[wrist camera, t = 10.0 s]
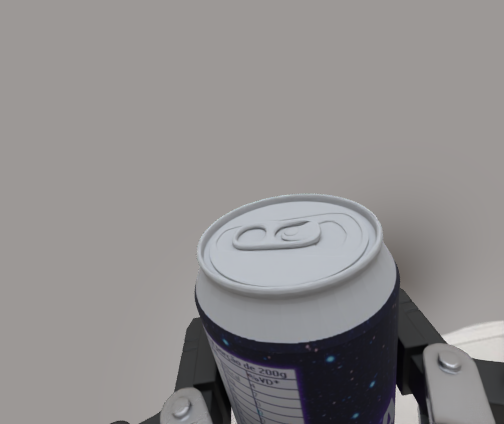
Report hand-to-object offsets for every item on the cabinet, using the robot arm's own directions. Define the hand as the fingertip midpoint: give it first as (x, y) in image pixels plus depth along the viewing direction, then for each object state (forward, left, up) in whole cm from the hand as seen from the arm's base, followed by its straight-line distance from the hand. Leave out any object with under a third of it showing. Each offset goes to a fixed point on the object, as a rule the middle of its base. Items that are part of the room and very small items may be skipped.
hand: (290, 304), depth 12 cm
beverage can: (-2, -2, -7) cm, 8 cm away
